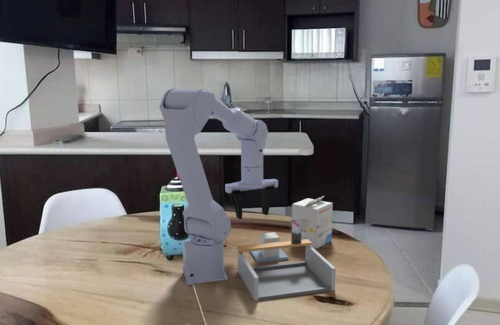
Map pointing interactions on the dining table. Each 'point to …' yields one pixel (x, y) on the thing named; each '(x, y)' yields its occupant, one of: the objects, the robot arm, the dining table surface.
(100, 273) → the dining table surface
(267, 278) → the case
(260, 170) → the robot arm
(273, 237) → the block
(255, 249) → the bar
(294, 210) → the ink box
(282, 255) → the pad
